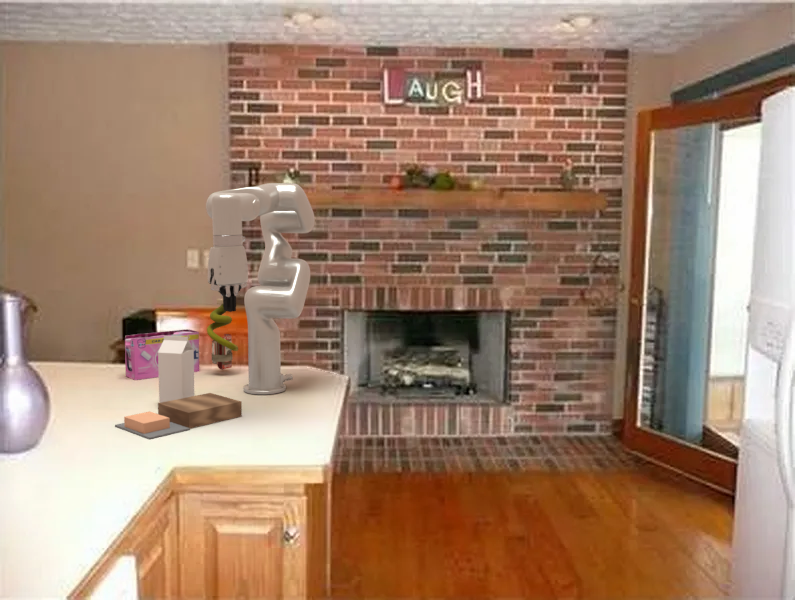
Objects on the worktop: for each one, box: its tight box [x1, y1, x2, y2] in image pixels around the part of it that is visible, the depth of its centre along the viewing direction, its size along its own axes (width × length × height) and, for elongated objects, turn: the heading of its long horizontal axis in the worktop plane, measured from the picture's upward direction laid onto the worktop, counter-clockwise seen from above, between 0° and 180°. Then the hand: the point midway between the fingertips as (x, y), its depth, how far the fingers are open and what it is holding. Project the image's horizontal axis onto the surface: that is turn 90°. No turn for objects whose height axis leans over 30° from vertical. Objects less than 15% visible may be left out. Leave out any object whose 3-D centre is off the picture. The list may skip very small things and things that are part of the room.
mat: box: [114, 422, 191, 440], centre depth 190 cm, size 11×16×1 cm
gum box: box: [124, 329, 200, 381], centre depth 252 cm, size 24×8×14 cm, turn 132°
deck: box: [157, 392, 243, 429], centre depth 200 cm, size 16×14×4 cm
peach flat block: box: [123, 410, 170, 434], centre depth 189 cm, size 7×9×2 cm
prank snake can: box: [206, 298, 239, 370], centre depth 254 cm, size 12×10×25 cm
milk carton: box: [158, 336, 195, 403], centre depth 214 cm, size 7×7×19 cm
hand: (229, 310), depth 203 cm, fingers closed
